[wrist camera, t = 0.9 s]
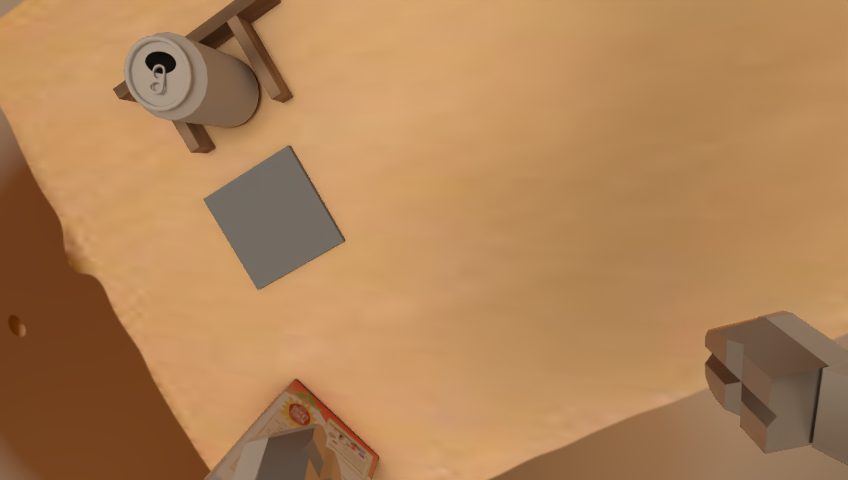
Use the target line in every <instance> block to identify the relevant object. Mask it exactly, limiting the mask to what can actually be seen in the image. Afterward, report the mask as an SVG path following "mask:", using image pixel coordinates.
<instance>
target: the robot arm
mask: <svg viewBox="0 0 848 480" xmlns="http://www.w3.org/2000/svg"><path fill="white" fill-rule="evenodd" d="M705 346H706V347H707V348H708V349H709V350H710V351H711V352H712V354H711V356H710V357H709V359H708V360H707V361H706V363H705V373H706V379H707V382H708V385H709V387H710V390H711V391H712V393H713V395H714V396H715V398H716V400H717V401H718V402H719V403H720V404H721V405H722V407H723V408H724V409H725V410H728V411H730V412H732V413H735V414H737V415H740V427H741V428H742V429H743V430H744V431H745V432H746V433H747V434H748V436H749V437H750V438H751V439H752V440H753V441H754V442H755V443H756V444H757V445H758V447H759V448H760V449H761V450H762V451H763V452H764V453H765V454H767V453H771V452H777V451H782V450H787V449H792V448H797V447H802V446H807V445H812V447H813V448H815V449H817V450H819V451H821V452H823V453H825V454H827V455H829V456H830V457H832V458H834V459H836V460H838V461H840V462H842V463H844V464H846V465H848V351H847V350H846V349H844V348H843V347H841V346H840V345H838V344H836V343H835V342H834V341H832V340H831V339H829V338H828V337H826V336H825V335H824V334H822V333H821V332H819V331H818V330H816V329H815V328H813V327H812V326H810V325H809V324H807V323H806V322H805V321H803V320H802V319H800V318H799V317H797V316H796V315H794V314H793V313H791V312H787V311H780V312H776V313H772V314H768V315H764V316H761V317H758V318H754V319H750V320H746V321H742V322H738V323H734V324H730V325H726V326H722V327H718V328H714V329H710V330H708V332H707V334H706V336H705ZM326 443H327V434H326V432H325V430H324V428H323V426H322V425H321V424H318V423H317V424H312V425H308V426H303V427H298V428H294V429H289V430H284V431H280V432H275V433H272V434H268V435H263V436H259V437H254V438H250V439H249V440H248V441H247V442H246V443H245V445H244V447H243V450H242V453H241V456H240V458H239V461H238V464H237V467H236V470H235V472H234V475H233V478H232V480H341V470H340V466H339V463H338V459H337V457H336V454H335V452H334V451H333V450H331V449H329V448H327V447H326Z"/></svg>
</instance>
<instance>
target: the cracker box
mask: <svg viewBox="0 0 848 480" xmlns="http://www.w3.org/2000/svg"><path fill="white" fill-rule="evenodd" d="M317 423H318V424H321V425H322V426H323V428H324V430H325V432H326V434H327V443H326V447H327V448H329V449H331V450H333V451H334V452H335V454H336V457H337V459H338V463H339V466H340V470H341V480H371V479H372V476H373V473H374V470H375V468H376V465H377V462H378V459H379V457H378V456H377V455H376V454H375V453H374V452H373V451H372V450H371V449H370V448H369V447H368V446H366V445H365V444H364V443H363V442H362V441H361V440H360V439H359V438H358V437H357V436H356V435H355V434H354V433H353V432H352V431H351V430H349V429H348V428H347V427H346V426H345V425H344V424H343V423H342V422H341V421H340V420H339V419H338V418H337V417H336V416H335V415H333V414H332V413H331V412H330V411H329V410H328V409H327V408H326V407H325V406H324V405H323V404H322V403H321V402H320V401H319V400H317V399H316V398H315V397H314V396H313V395H312V394H311V393H310V392H309V391H308V390H307V389H306V388H305V387H304V386H303V385H302V384H301V383H300V382H298V381H297V380H294V381H293V382H292V383H291V384H290V385H289V386H288V387H287V388H286V389H285V390H284V391H283V392H282V393H281V394H280V395H279V396H278V397H277V398H276V399H275V400H274V401H273V402H272V403H271V404H270V405H269V406H268V407H267V408H266V409H265V411H264V412H263V413H262V414H261V415H260V416H259V417H258V419H257V420H256V421H255V422H254V423H253V424H252V425H251V426H250V428H249V429H248V430H247V431H246V432H245V433H244V434H243V436H242V437H241V438H240V439H239V440H238V441H237V442H236V443H235V445H234V446H233V447H232V448H231V449H230V450H229V451H228V453H227V454H226V455H225V456H224V457H223V458H222V459H221V461H220V462H219V463H218V464H217V465H216V466H215V467H214V469H213V470H212V471H211V472H210V473H209V474H208V475H207V476H206V478H205V479H204V480H232V478H233V475H234V472H235V470H236V467H237V464H238V461H239V458H240V456H241V453H242V450H243V447H244V445H245V443H246V442H247V441H248V440H249V439H250V438H254V437H259V436H263V435H268V434H272V433H275V432H280V431H284V430H289V429H294V428H298V427H303V426H308V425H312V424H317Z"/></svg>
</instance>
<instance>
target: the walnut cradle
mask: <svg viewBox="0 0 848 480" xmlns="http://www.w3.org/2000/svg"><path fill="white" fill-rule="evenodd" d="M279 3H280V0H235V1H233V2H232V3H231V4H229V5H228V6H226V7H225V8H224V9H222V10H221V11H220V12H218V13H217V14H215V15H214V16H213V17H211V18H210V19H209V20H207V21H206V22H204V23H203V24H202V25H200V26H199V27H198V28H196V29H195V30H193V31H192V32H191V33H189V34H188V35H187V36H185V37H186V38H189V39H191V40H193V41H196V42H198V43H201V44H203V45H205V46H208V47H210V48H213V49H216V48H217V47H218V46H220V45H221V44H223V43H224V42H225V41H227V40H228V39H230V38H231V37H232V36H234V35H235V37H236V38H237V40H238V42H239V44H240V45H241V47H242V49H243V50H244V52H245V54H246V56H247V57H248V59H249V61H250V63H251V64H252V66H253V68H254V69H255V71H256V73H257V75H258V76H259V78H260V80H261V82H262V83H263V85H264V87H265V88H266V90H267V92H268V94H269V95H270V97H271V99H273V100H276V101H280V102H283V103H284V102H286V101H287V100H289V99H291V98H292V97H293V96H292V94H291V93H290V91H289V89H288V87H287V86H286V84H285V82H284V80H283V79H282V77H281V75H280V73H279V72H278V70H277V68H276V66H275V65H274V63H273V61H272V60H271V58H270V56H269V54H268V53H267V51H266V49H265V47H264V46H263V44H262V42H261V40H260V39H259V37H258V35H257V33H256V32H255V30H254V28H253V26H252V25H251V23H252V22H254V21H255V20H256V19H258V18H259V17H261V16H262V15H263V14H265V13H266V12H268V11H269V10H270V9H272V8H273V7H275V6H276V5H278V4H279ZM113 90H114V91H115V93H116V95H117V96H118V98H119V99H122V100H128V101H134V102H137V101H136V99H135V98H134V97H133V96H132V94H131V93H130V91H129V89H128V86H127V84H126V81H123V82H122V83H121V84H119V85H118V86H117V87H115V88H114V89H113ZM172 122H173V123H174V125H175V127H176V128H177V130H178V132H179V133H180V135H181V137H182V138H183V140H184V142H185V143H186V145H187V147H188V148H189V150H190V152H191V153H208V152H210V151H211V150H213V149H214V148H216V147H215V146H214V144H213V142H212V141H211V139H210V137H209V136H208V134H207V132H206V131H205V129H204V127H203V126H202V124H194V123H187V122H179V121H172Z"/></svg>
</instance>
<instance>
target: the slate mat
mask: <svg viewBox="0 0 848 480" xmlns="http://www.w3.org/2000/svg"><path fill="white" fill-rule="evenodd" d="M203 200H204V201H205V203H206V205H207V206H208V208H209V210H210V211H211V213H212V215H213V216H214V218H215V220H216V221H217V223H218V225H219V226H220V228H221V230H222V231H223V233H224V235H225V236H226V238H227V240H228V241H229V243H230V245H231V246H232V248H233V250H234V251H235V253H236V255H237V256H238V258H239V259H240V261H241V263H242V264H243V266H244V268H245V269H246V271H247V273H248V274H249V276H250V278H251V279H252V281H253V283H254V284H255V286H256V288H257V289H258V290H259V289H261V288H262V287H264V286H266V285H268V284H269V283H271V282H273V281H275V280H276V279H278V278H280V277H282V276H284V275H285V274H287V273H289V272H291V271H292V270H294V269H296V268H298V267H299V266H301V265H303V264H305V263H306V262H308V261H310V260H312V259H313V258H315V257H317V256H319V255H321V254H322V253H324V252H326V251H328V250H329V249H331V248H333V247H335V246H336V245H338V244H340V243H342V242H343V241H345V239H344V237H343V236H342V234H341V232H340V230H339V229H338V227H337V225H336V224H335V222H334V220H333V218H332V217H331V215H330V213H329V211H328V210H327V208H326V206H325V205H324V203H323V201H322V199H321V198H320V196H319V194H318V193H317V191H316V189H315V187H314V186H313V184H312V182H311V180H310V179H309V177H308V175H307V174H306V172H305V170H304V168H303V167H302V165H301V163H300V161H299V160H298V158H297V156H296V155H295V153H294V151H293V149H292V148H291V146H287V147H285V148H284V149H282V150H280V151H279V152H277V153H276V154H274V155H273V156H271V157H269V158H268V159H266V160H265V161H263V162H261V163H260V164H258V165H257V166H255V167H254V168H252V169H250V170H249V171H247V172H246V173H244V174H243V175H241V176H239V177H238V178H236V179H235V180H233V181H231V182H230V183H228V184H227V185H225V186H224V187H222V188H220V189H219V190H217V191H216V192H214V193H213V194H211V195H209V196H208V197H206V198H205V199H203Z"/></svg>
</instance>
